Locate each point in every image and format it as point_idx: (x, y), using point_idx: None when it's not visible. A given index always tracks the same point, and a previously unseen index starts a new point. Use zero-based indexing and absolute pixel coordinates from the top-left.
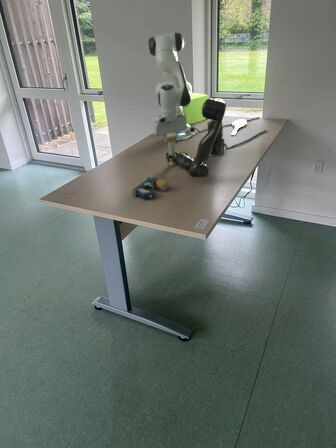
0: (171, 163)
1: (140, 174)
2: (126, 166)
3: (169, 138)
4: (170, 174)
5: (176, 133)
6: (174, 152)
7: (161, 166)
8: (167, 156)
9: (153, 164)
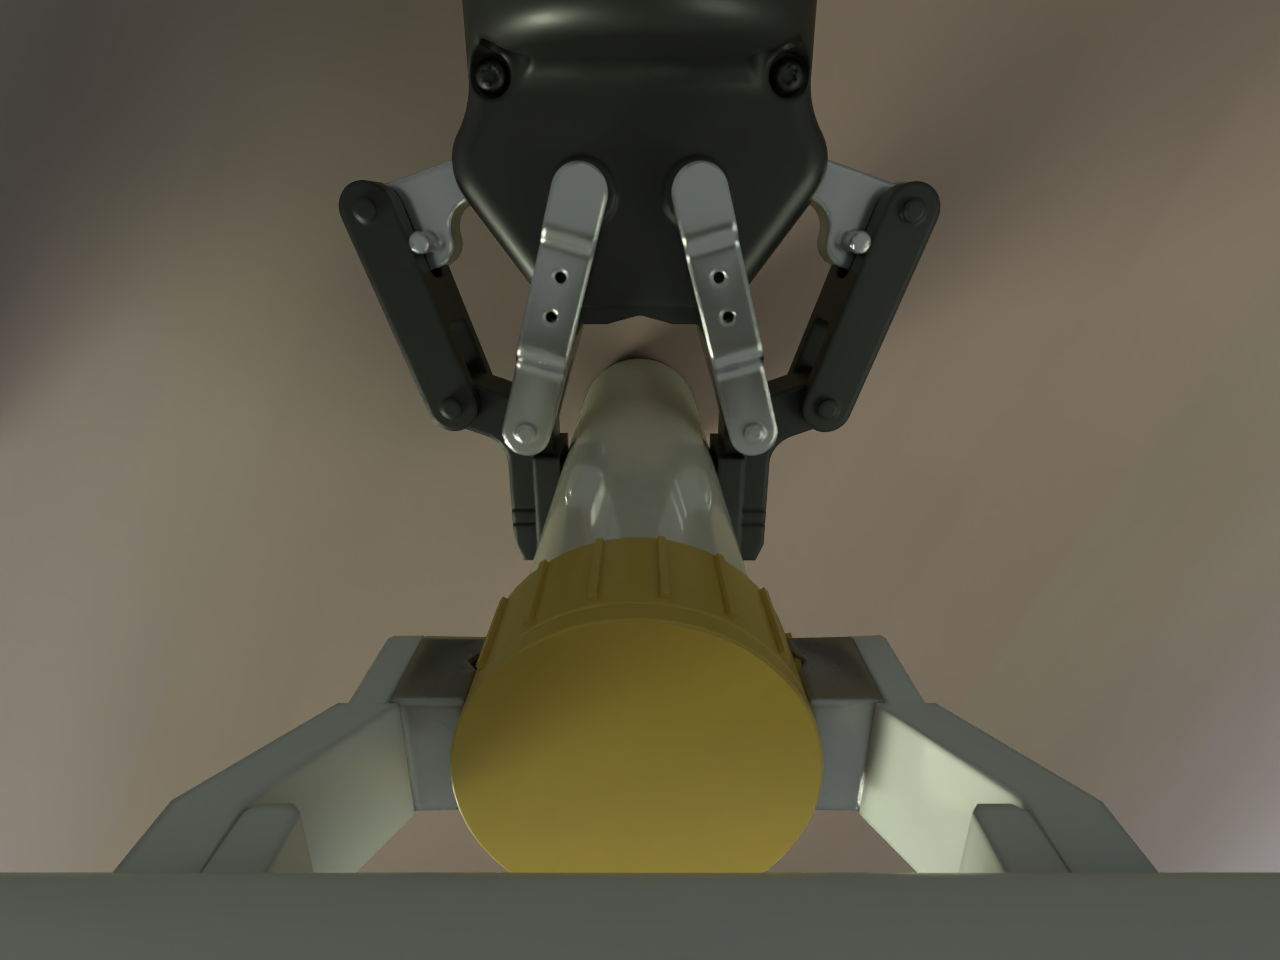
0: (687, 392)
1: (1270, 368)
2: (1194, 755)
3: (784, 669)
4: (911, 10)
5: (305, 842)
6: (616, 424)
7: (826, 464)
8: (851, 343)
9: (875, 607)
